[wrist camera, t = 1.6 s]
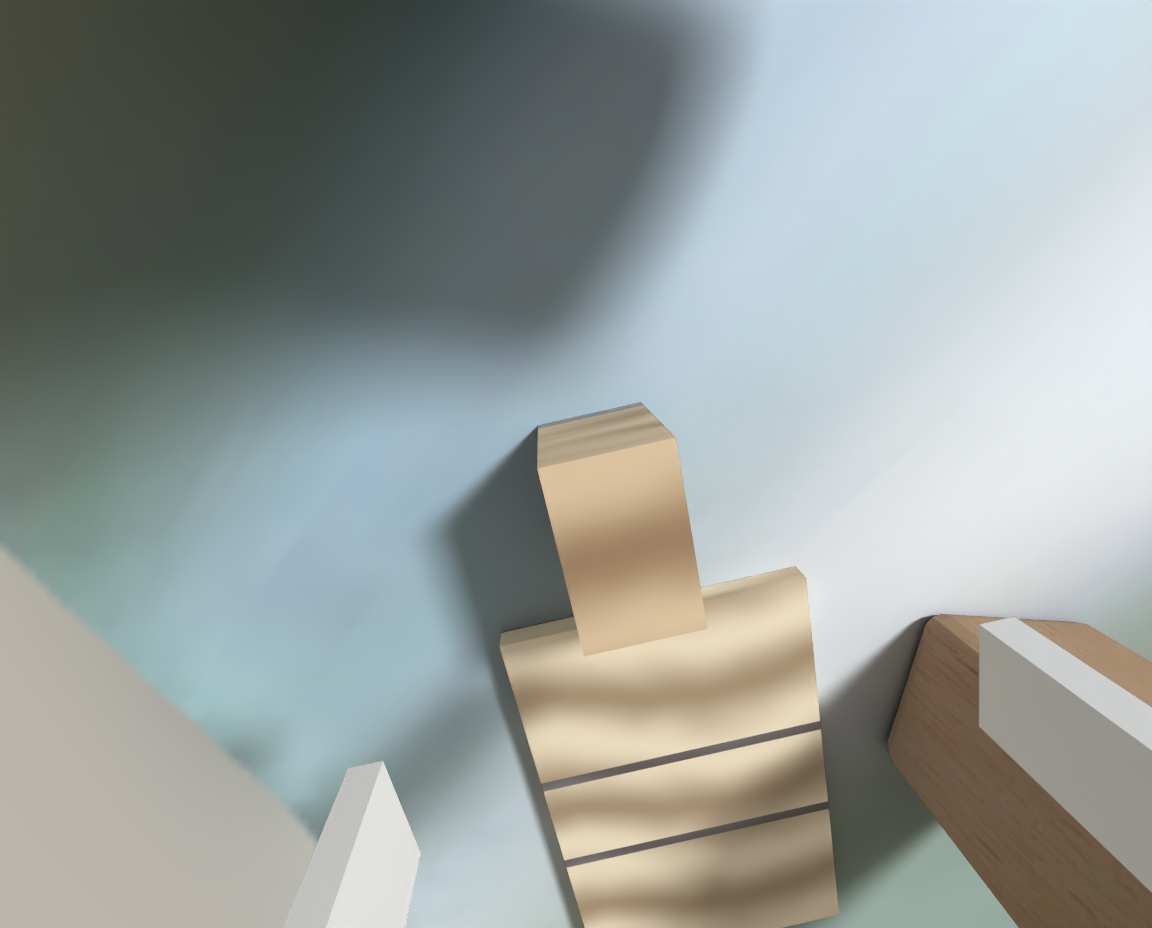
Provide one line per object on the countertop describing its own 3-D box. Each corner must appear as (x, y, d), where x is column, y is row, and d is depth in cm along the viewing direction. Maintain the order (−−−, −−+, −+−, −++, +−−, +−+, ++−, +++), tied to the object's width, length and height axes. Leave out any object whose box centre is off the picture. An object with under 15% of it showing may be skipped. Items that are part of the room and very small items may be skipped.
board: (501, 632, 29) (499, 646, 28) (795, 566, 29) (806, 577, 28) (595, 948, 36) (597, 969, 35) (829, 895, 36) (839, 915, 35)
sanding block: (537, 425, 26) (537, 468, 19) (640, 401, 26) (675, 437, 19) (573, 572, 28) (584, 656, 22) (667, 550, 28) (707, 628, 22)
